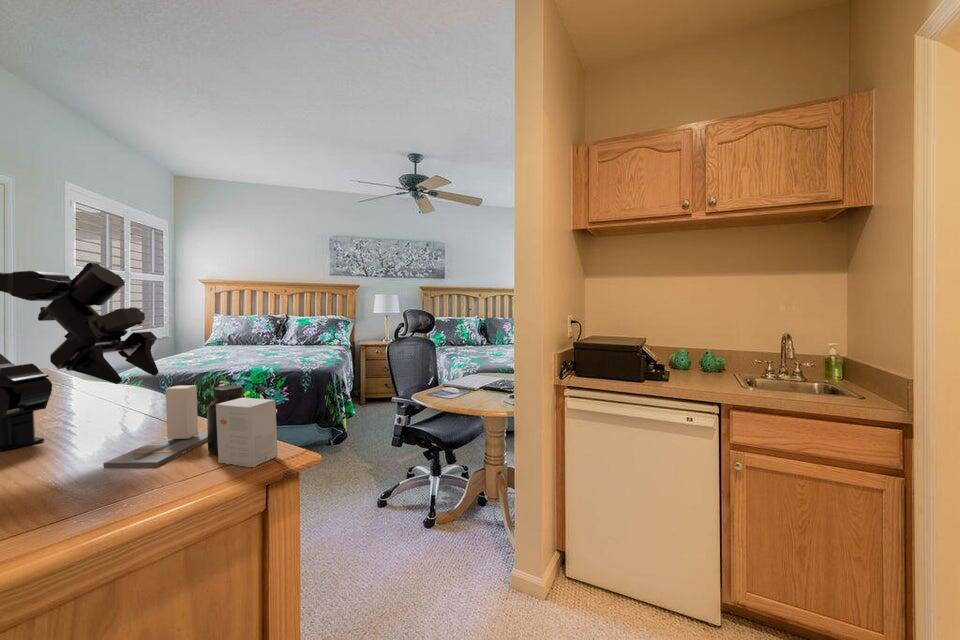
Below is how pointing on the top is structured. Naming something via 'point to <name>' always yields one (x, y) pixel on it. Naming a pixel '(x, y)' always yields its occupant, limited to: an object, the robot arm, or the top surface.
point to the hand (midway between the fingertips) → (139, 378)
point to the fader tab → (181, 412)
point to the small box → (246, 431)
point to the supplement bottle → (220, 396)
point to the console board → (157, 452)
